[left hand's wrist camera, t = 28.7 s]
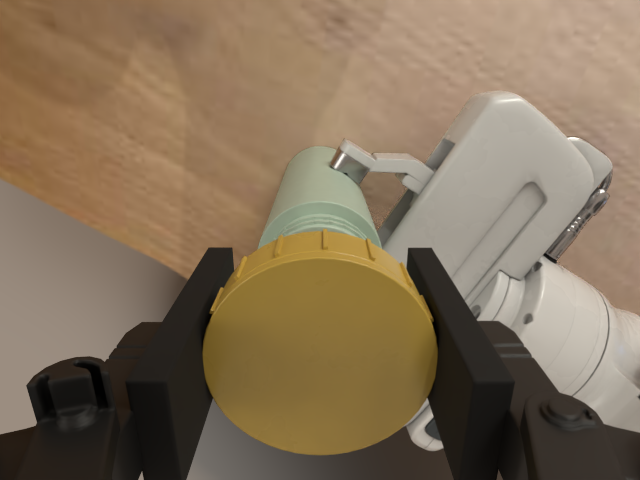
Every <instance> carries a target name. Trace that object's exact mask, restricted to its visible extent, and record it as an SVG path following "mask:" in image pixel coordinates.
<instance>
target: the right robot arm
mask: <svg viewBox="0 0 640 480" xmlns="http://www.w3.org/2000/svg"><path fill="white" fill-rule="evenodd" d="M330 165H331V166H332V167H333V168H334V169H336V170H337V171H339V172H341V173H347V175H348V177H349V178H351V179H352V180H353V181H355V182H357V183H358V184H360V182H361V181H362V180H363V178H364V177H365V175H366V174H367V172H368V171H369V172H388V173H396V177H397V178H398V179H399V181H400V182H401V183H402V184H403V185H404V186H406V187H407V189H406V190H405V192H404V193H403V195H402V196H401V197H400V199H399V200H398V202H397V203H396V205H395V206H394V208H393V209H392V210H391V212H390V213H389V215H388V216H387V218H386V219H385V220H384V222H383V223H382V225H381V226H380V228H379V229H378V230H377V234H378V237H379V239H380V243H381V246H382V249H383V250H384V251H386V252H387V253H388V254H389V255H391V256H392V257H393V258H394V259H396V260H397V261H398V262H399V264H400V263H401V262H403V263H404V265H405V267H407V254H408V248H432V249H433V251H434V252H435V254H436V256H437V257H438V259H439V260H440V262H441V264H442V265H443V267H444V268H445V270H446V272H447V273H448V275H449V276H450V278H451V280H452V281H453V283H454V284H455V286H456V288H457V289H458V291H459V292H460V294H461V296H462V297H463V299H464V300H465V302H466V304H467V305H468V307H469V308H470V310H471V312H472V313H473V315H474V316H475V318H476V320H477V321H500V322H501V323H502V324H504V325H505V326H507V327H508V328H510V329H511V330H513V331H514V332H515V333H516V334H517V336H518V337H519V338H520V340H521V341H522V343H523V344H524V347H526V348H527V349H528V351H529V352H530V353H531V355H532V358H534V359H535V360H536V361H537V363H538V364H539V365H540V367H541V368H542V370H543V371H544V372H545V374H546V375H547V376H548V378H549V379H550V380H551V382H552V383H553V384H554V386H555V387H556V388H557V390H558V391H559V392H560V393H563V394H566V395H570V396H572V397H574V398H576V399H578V400H580V401H582V402H584V403H586V404H587V405H588V406H589V407H591V408H592V409H593V410H594V411H596V413H597V414H598V416H599V417H600V418H601V420H602V421H603V423H604V424H606V425H610V426H613V427H617V428H621V429H626V430H630V431H635V432H639V433H640V316H638V315H636V314H634V313H631V312H629V311H626V310H622V309H618V308H614V307H613V306H612V305H611V304H610V303H609V301H608V300H607V299H606V297H605V296H604V295H603V294H602V293H601V292H600V291H599V290H597V289H596V288H595V287H593V286H592V285H590V284H589V283H587V282H586V281H584V280H583V279H581V278H579V277H578V276H576V275H575V274H573V273H572V272H570V271H568V270H567V269H565V268H564V267H562V266H561V265H559V264H558V263H557V262H556V261H557V260H558V259H559V258H560V256H561V255H562V254H563V253H564V252H565V251H566V249H567V248H568V247H569V246H570V245H571V244H572V242H573V241H574V240H575V239H576V237H577V236H578V234H579V233H580V230H582V228H583V226H585V225H586V223H587V222H588V221H589V220H590V219H591V218H592V216H595V215H596V214H597V213H598V212H599V211H600V210H601V209H602V208H603V206H604V205H605V204H606V202H607V200H608V199H609V196H610V195H609V194H608V193H607V192H606V191H607V189H608V187H609V185H610V183H611V179H612V163H611V161H610V160H609V158H608V157H607V156H606V155H605V154H604V153H603V152H602V151H600V150H599V149H597V148H596V147H595V146H593V145H592V144H590V143H589V142H588V141H586V140H585V139H582V138H579V137H575V136H568V137H566V136H565V135H564V134H563V133H562V132H561V131H560V130H559V129H558V128H557V127H556V126H555V125H554V124H553V123H552V122H551V121H550V120H549V119H548V118H547V117H546V116H544V115H543V114H542V113H541V112H540V111H539V110H537V109H536V108H535V107H534V106H533V105H531V104H530V103H529V102H528V101H526V100H525V99H524V98H522V97H521V96H519V95H517V94H514V93H512V92H508V91H502V90H496V91H488V92H483V93H478V94H475V95H473V96H472V97H471V98H470V99H469V100H468V101H467V103H466V104H465V106H464V107H463V108H462V110H461V111H460V113H459V114H458V116H457V117H456V118H455V120H454V121H453V123H452V124H451V126H450V127H449V129H448V130H447V131H446V133H445V134H444V136H443V137H442V139H441V140H440V141H439V143H438V144H437V146H436V147H435V149H434V150H433V152H432V153H431V154H430V156H429V157H428V159H427V160H426V162H425V163H422V162H421V161H419V160H417V159H416V158H414V157H413V156H411V155H410V154H408V153H373V154H372V155H371V154H370V153H368V152H367V151H365V150H363V149H362V148H360V147H359V146H357V145H355V144H354V143H352V142H351V141H349V140H347V139H345V138H344V139H343V141H342V143H341V144H340V146H339V147H338V149H337V151H336V152H335V154H334V156H333V158H332V159H331V161H330ZM600 183H601V184H600ZM599 184H600V187H599V188H598V186H599ZM404 426H406V427H407V430H408V432H409V435H410V437H411V439H412V441H413V442H414V443H415V444H416V445H418V446H419V447H421V448H423V449H426V450H429V451H437V450H440V449H442V448H444V447H443V444H442V441H441V438H440V435H439V432H438V429H437V426H436V423H435V420H434V417H433V414H432V411H431V407H430V404H429V401H428V398H427V399H426V401H425V402H424V404H423V405H422V407H421V408H420V410H419V411H418V412H417V413H416V414H415V415H414V417H413V418H412V419H411V420H410V421H409V422H408V423H407V424H405V425H404ZM404 426H403V427H404Z"/></svg>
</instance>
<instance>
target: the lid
mask: <svg viewBox="0 0 640 480" xmlns="http://www.w3.org/2000/svg"><path fill="white" fill-rule="evenodd" d="M209 313H210V314H212V317H211V319H210V321H209V324H208V326H207V328H206V332H205V336H204V340H203V348H202V356H203V365H204V374H205V380H206V383H207V385H208V388H209V391H210V393H211V395H212V397H213V398H214V400H215V402H216V404H217V405H218V406H219V408H220V409H221V410H222V412H223V413H224V414H225V415H226V416H227V417H228V418H229V419H230V420H231V421H232V422H233V423H234V424H235V425H236V426H237V427H239V428H240V429H241V430H242V431H244V432H245V433H247V434H248V435H250V436H251V437H253V438H255V439H256V440H259V441H261V442H263V443H265V444H267V445H269V446H272V447H275V448H278V449H281V450H285V451H289V452H293V453H300V454H307V455H332V454H341V453H347V452H351V451H355V450H359V449H363V448H365V447H368V446H371V445H373V444H376V443H378V442H380V441H382V440H384V439H385V438H387V437H389V436H391V435H392V434H393V433H395V432H397V431H398V430H400V429H401V428H402V427H403V426H404V425H405V424H407V423H408V422H409V421H410V420H411V419H412V418H413V417H414V415H415V414H416V413H417V412H418V411H419V410H420V408H421V407H422V405H423V404H424V402H425V401H426V399H427V397H428V395H429V393H430V391H431V389H432V386H433V383H434V380H435V376H436V368H437V358H438V345H437V338H436V334H435V331H434V328H433V325H432V322H434V320H433V317H432V315H431V313H430V310H429V308H428V306H427V304H426V302H425V299H424V297H423V295H419V293H418V291H417V289H416V287H415V285H414V283H413V281H412V279H411V277H410V276H409V274H408V272H407V269H406V267H405V265H404V263H403V262H401V263H400V264H399V262H398V261H397V260H396V259H394V258H393V257H392V256H391V255H389V254H388V253H387V252H386V251H384V250H383V249H381V248H379V247H378V246H376V245H374V244H372V243H371V240H370V239H368V238H367V239H366V240H363V239H361V238H358V237H355V236H351V235H348V234H343V233H337V232H327V229H323V231H313V232H302V233H297V234H293V235H288V236H285V237H283V235H280V236H279V237H278V239H277V240H274V241H272V242H270V243H268V244H266V245H264V246H262V247H261V248H259V249H258V250H256V251H255V252H253V253H252V254H251V255H249V256H248V257H246V256H244V257H243V258H242V260H241V262H240V265H239V266H238V267H237V268H236V270H235V271H234V272H233V273H232V275H231V276H230V278H229V280H228V281H227V283H226V285H225V287H224V288H222V287H221V288H220V290H219V292H218V295H217V297H216V299H215V301H214V303H213V305H212V308H211V310H210V312H209Z"/></svg>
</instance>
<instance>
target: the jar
mask: <svg viewBox="0 0 640 480" xmlns="http://www.w3.org/2000/svg"><path fill="white" fill-rule="evenodd" d="M336 151H337V150H335V149H333V148H330V147H325V146H315V147H310V148H307V149H305V150H303V151H301V152H299V153H298V154H297V155H296V156H294V158H293V159H292V160H291V161H290V163H289V164H288V166H287V168H286V171H285V174H284V176H283V179H282V182H281V185H280V187H279V190H278V193H277V196H276V198H275V201H274V204H273V206H272V209H271V212H270V215H269V217H268V220H267V223H266V226H265V228H264V231H263V234H262V236H261V239H260V242H259V245H258V249H259V248H261V247H262V246H264V245H266V244H268V243H270V242H272V241H274V240H277V239H278V237H279V236H280V235H283V237H285V236H288V235H293V234H297V233H302V232H313V231H323V229H327V232H337V233H343V234H348V235H351V236H355V237H358V238H361V239H363V240H366V239H367V238H368V239H370V240H371V243H372V244H374V245H376V246H378V247H379V248H381V249H382V246H381V243H380V239H379V237H378V234H377V231H376V228H375V226H374V223H373V220H372V217H371V215H370V212H369V209H368V207H367V204H366V201H365V198H364V196H363V193H362V190H361V187H360V185H359V184H358V183H357V182H355V181H353V180H352V179H351V178H349V177H348V175H347V173H341V172H339V171H337V170H336V169H334V168H333V167H332V166H331V165H330V161H331V159H332V158H333V156H334V154H335V152H336Z"/></svg>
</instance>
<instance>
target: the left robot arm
mask: <svg viewBox="0 0 640 480" xmlns="http://www.w3.org/2000/svg"><path fill="white" fill-rule="evenodd" d="M406 269H407V272H408V274H409V276H410V277H411V279H412V281H413V283H414V285H415V287H416V289H417V291H418V293H419V295H423V297H424V299H425V302H426V304H427V306H428V308H429V310H430V313H431V315H432V317H433V320H434V322H432V325H433V328H434V331H435V334H436V338H437V345H438V358H437V368H436V376H435V380H434V383H433V386H432V389H431V391H430V393H429V395H428V397H427V398H428V401H429V404H430V407H431V411H432V414H433V417H434V420H435V423H436V426H437V429H438V432H439V435H440V438H441V441H442V444H443V447H444V450H445V453H446V457H447V460H448V463H449V466H450V469H451V472H452V475H453V478H454V480H496V479H497V474H498V469H499V471H500V473H501V476H502V478H503V480H640V433H639V432H635V431H630V430H626V429H621V428H617V427H613V426H610V425H606V424H604V423H603V421H602V420H601V418H600V417H599V416H598V414H597V413H596V411H594V410H593V409H592V408H591V407H589V406H588V405H587V404H586V403H584V402H582V401H580V400H578V399H576V398H574V397H572V396H570V395H566V394H563V393H560V392H559V391H558V390H557V388H556V387H555V386H554V384H553V383H552V382H551V380H550V379H549V378H548V376H547V375H546V374H545V372H544V371H543V370H542V368H541V367H540V365H539V364H538V363H537V361H536V360H535V359H534V358H532V355H531V353H530V352H529V351H528V349H527V348H526V347H524V344H523V343H522V341H521V340H520V338H519V337H518V336H517V334H516V333H515V332H514V331H513V330H511V329H510V328H508V327H507V326H505V325H504V324H502V323H501V322H500V321H477V320H476V318H475V316H474V315H473V313H472V312H471V310H470V308H469V307H468V305H467V304H466V302H465V300H464V299H463V297H462V296H461V294H460V292H459V291H458V289H457V288H456V286H455V284H454V283H453V281H452V280H451V278H450V276H449V275H448V273H447V272H446V270H445V268H444V267H443V265H442V264H441V262H440V260H439V259H438V257H437V256H436V254H435V252H434V251H433V249H432V248H408V254H407V267H406ZM233 272H234V264H233V251H232V248H208V250H207V251H206V253H205V254H204V256H203V258H202V259H201V261H200V262H199V264H198V266H197V267H196V269H195V270H194V272H193V274H192V275H191V277H190V278H189V280H188V282H187V283H186V285H185V286H184V288H183V290H182V291H181V293H180V294H179V296H178V298H177V299H176V301H175V302H174V304H173V306H172V307H171V309H170V310H169V312H168V314H167V315H166V317H165V318H164V320H163V322H142V323H140V324H139V325H137V326H136V327H134V328H133V329H131V330H130V331H128V332H127V333H126V334H125V335H124V337H123V338H122V339H121V341H120V342H119V343H118V345H117V348H115V349H114V350H113V352H112V353H111V354H110V356H109V359H107V360H106V361H105V362H104V361H103V360H101V359H99V358H94V357H75V358H71V359H67V360H63V361H60V362H57V363H55V364H53V365H51V366H48V367H46V368H45V369H43V370H42V371H40V372H39V373H38V374H36V375H35V376H34V377H33V378H32V379H31V380H30V382H29V383H28V384H27V389H28V393H29V396H30V400H31V403H32V407H33V410H34V413H35V417H36V420H37V424H36V426H34V427H30V428H27V429H23V430H18V431H14V432H10V433H5V434H1V435H0V480H138V479H139V476H140V474H141V472H143V477H144V480H186V479H187V476H188V473H189V470H190V467H191V464H192V460H193V457H194V454H195V451H196V448H197V445H198V442H199V439H200V436H201V433H202V430H203V427H204V424H205V421H206V417H207V414H208V411H209V408H210V405H211V402H212V399H213V397H212V395H211V393H210V391H209V388H208V385H207V383H206V380H205V374H204V365H203V356H202V348H203V340H204V336H205V332H206V328H207V326H208V324H209V321H210V319H211V317H212V314H210V313H209V312H210V310H211V308H212V305H213V303H214V301H215V299H216V297H217V295H218V292H219V290H220V288H221V287H222V288H224V287H225V285H226V283H227V281H228V280H229V278H230V276H231V275H232V273H233Z"/></svg>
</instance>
